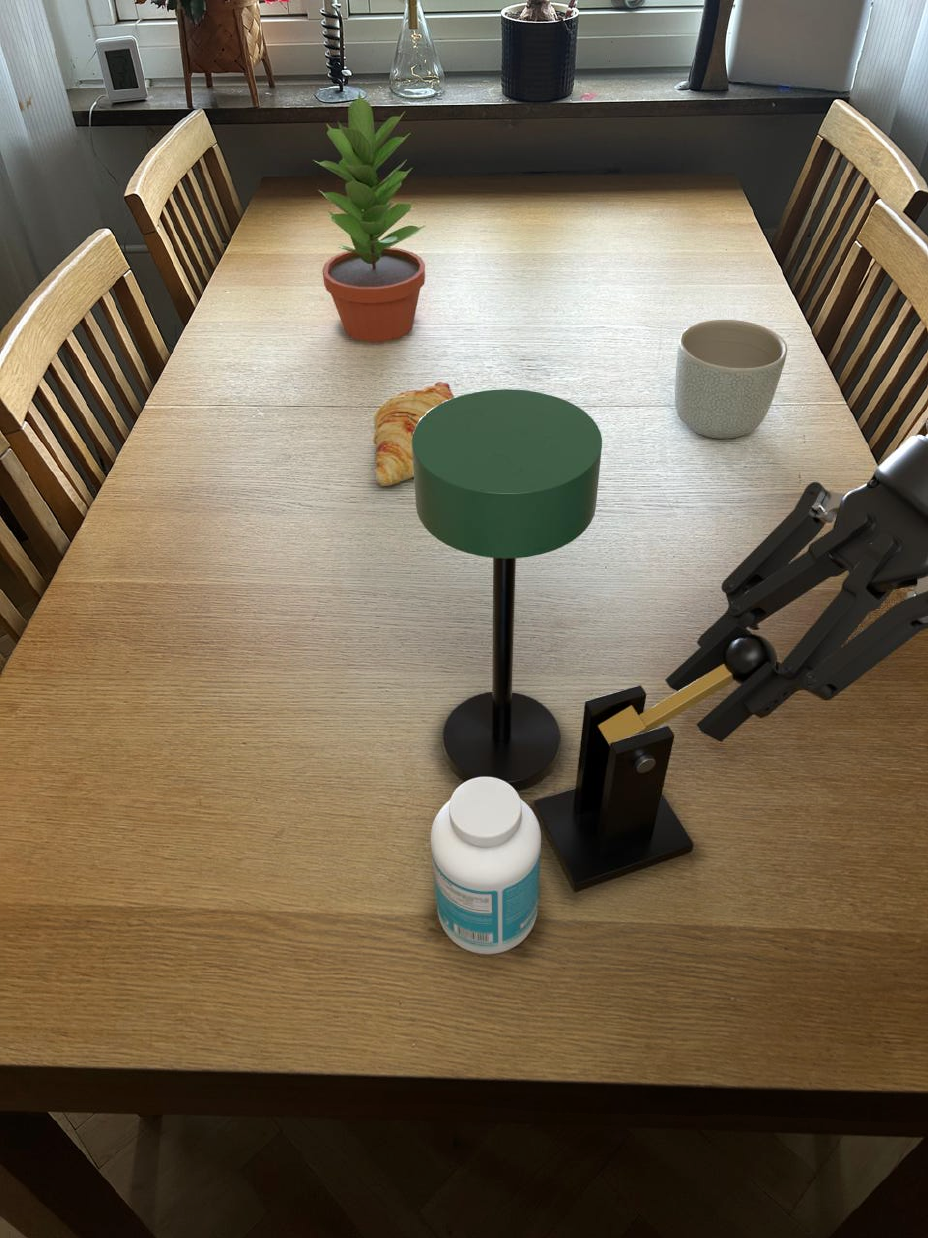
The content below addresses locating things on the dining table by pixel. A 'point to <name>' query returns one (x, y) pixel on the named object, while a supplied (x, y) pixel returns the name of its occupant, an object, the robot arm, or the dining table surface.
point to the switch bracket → (614, 801)
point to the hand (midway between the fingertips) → (693, 710)
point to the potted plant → (371, 235)
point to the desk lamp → (505, 545)
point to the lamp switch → (695, 688)
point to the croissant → (402, 430)
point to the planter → (727, 376)
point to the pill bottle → (486, 866)
